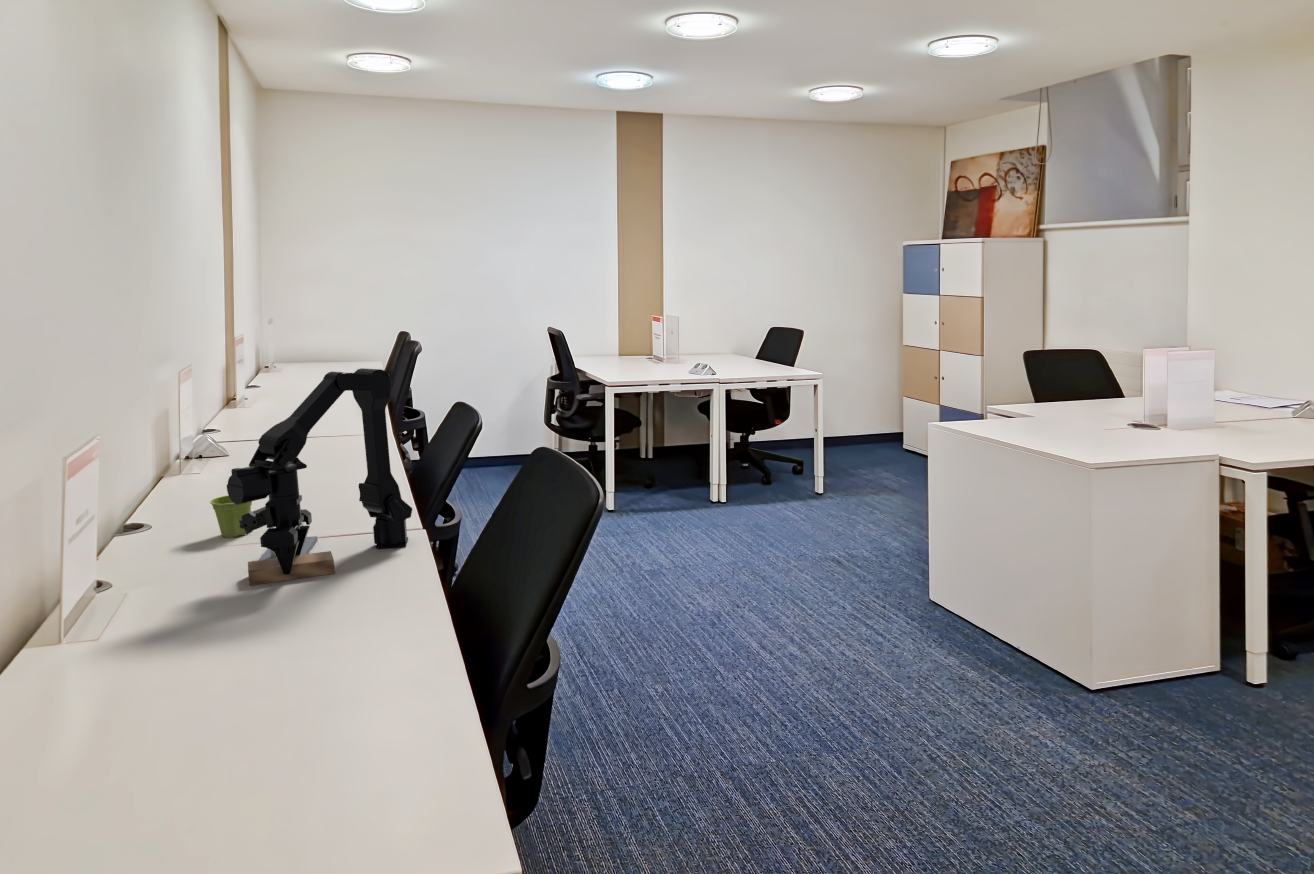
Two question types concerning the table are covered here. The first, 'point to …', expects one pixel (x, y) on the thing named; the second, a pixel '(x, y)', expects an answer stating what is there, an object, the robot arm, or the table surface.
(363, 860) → the table surface
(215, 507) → the plant pot
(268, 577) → the shelf board
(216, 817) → the table surface
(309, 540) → the peg stand
